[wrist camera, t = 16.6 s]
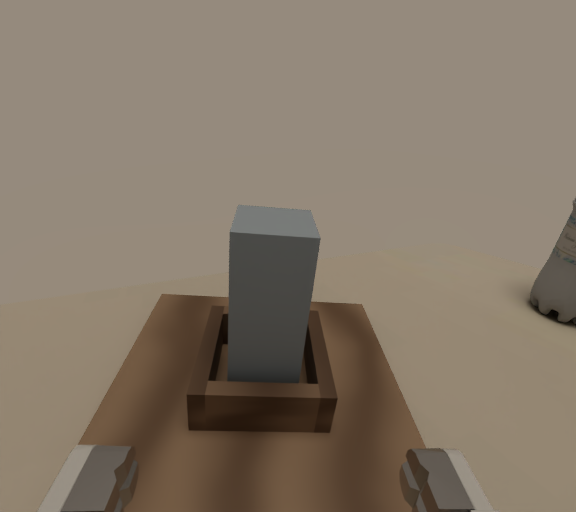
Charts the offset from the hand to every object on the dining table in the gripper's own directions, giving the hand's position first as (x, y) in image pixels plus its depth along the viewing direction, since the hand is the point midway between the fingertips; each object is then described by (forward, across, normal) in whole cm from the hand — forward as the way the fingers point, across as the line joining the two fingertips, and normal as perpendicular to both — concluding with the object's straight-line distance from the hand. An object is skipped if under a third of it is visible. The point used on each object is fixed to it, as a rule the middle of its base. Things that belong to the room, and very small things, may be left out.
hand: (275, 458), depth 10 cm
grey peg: (+11, 0, -8) cm, 14 cm away
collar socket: (+11, 0, -9) cm, 14 cm away
